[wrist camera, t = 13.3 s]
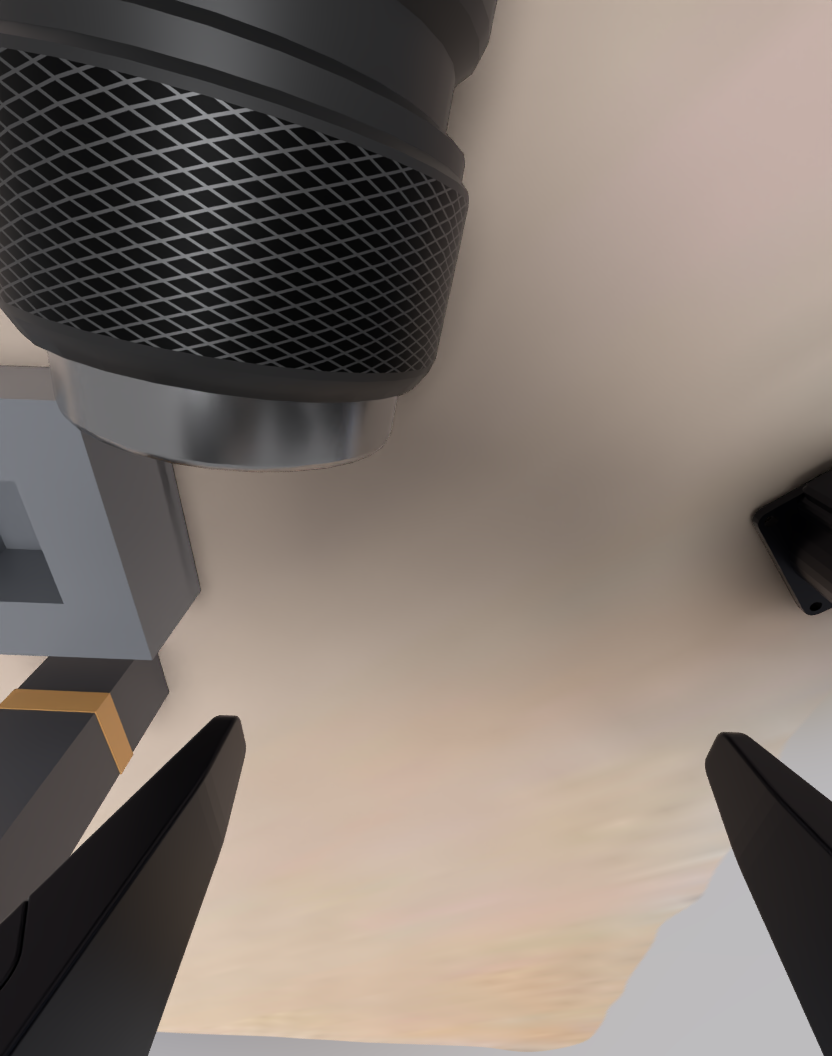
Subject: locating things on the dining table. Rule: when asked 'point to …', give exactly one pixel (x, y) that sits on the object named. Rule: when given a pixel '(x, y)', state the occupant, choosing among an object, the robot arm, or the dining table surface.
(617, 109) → the dining table surface
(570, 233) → the dining table surface
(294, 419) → the black cylindrical piece
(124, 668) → the plug
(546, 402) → the dining table surface
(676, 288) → the dining table surface
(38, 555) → the socket block
